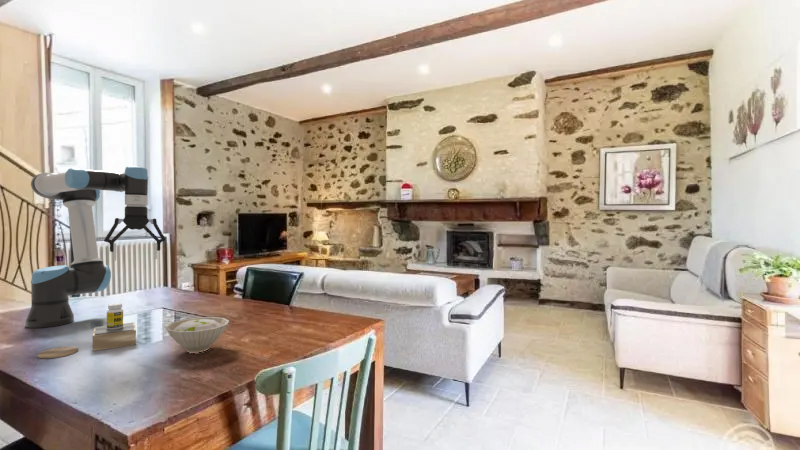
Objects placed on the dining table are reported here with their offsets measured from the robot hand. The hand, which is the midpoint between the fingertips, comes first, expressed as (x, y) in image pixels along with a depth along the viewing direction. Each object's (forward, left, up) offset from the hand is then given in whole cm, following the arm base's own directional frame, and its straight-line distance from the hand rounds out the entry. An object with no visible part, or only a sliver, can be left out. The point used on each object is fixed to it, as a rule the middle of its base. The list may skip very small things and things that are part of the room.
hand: (135, 259), depth 159 cm
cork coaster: (+20, -22, -28) cm, 41 cm away
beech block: (+17, -7, -28) cm, 33 cm away
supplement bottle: (+17, -7, -23) cm, 29 cm away
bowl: (+41, +16, -28) cm, 52 cm away
